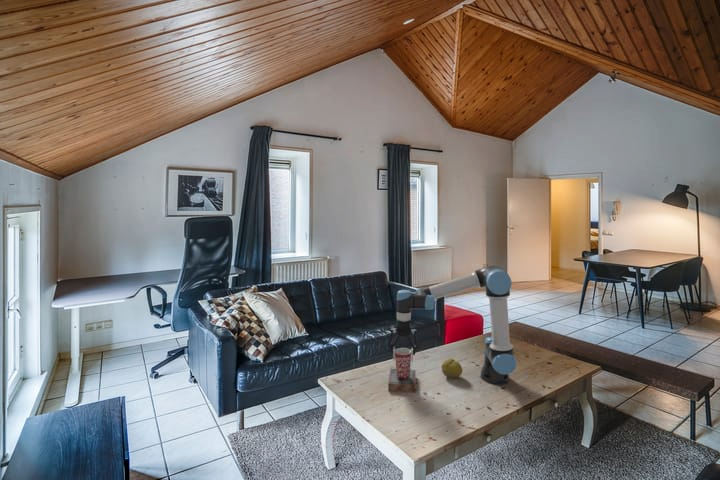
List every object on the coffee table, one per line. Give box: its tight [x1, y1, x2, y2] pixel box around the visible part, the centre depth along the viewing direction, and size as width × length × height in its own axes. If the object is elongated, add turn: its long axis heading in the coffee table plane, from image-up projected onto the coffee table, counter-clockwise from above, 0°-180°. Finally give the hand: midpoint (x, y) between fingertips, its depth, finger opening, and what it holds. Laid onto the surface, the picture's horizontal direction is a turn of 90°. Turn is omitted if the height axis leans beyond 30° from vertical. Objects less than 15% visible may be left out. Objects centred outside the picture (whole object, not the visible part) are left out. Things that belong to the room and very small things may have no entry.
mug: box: [394, 347, 412, 378], centre depth 207 cm, size 13×9×14 cm
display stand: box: [387, 368, 416, 394], centre depth 208 cm, size 14×18×4 cm
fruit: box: [441, 358, 463, 379], centre depth 216 cm, size 11×12×10 cm
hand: (402, 359), depth 207 cm, fingers closed on mug, 9 cm apart
